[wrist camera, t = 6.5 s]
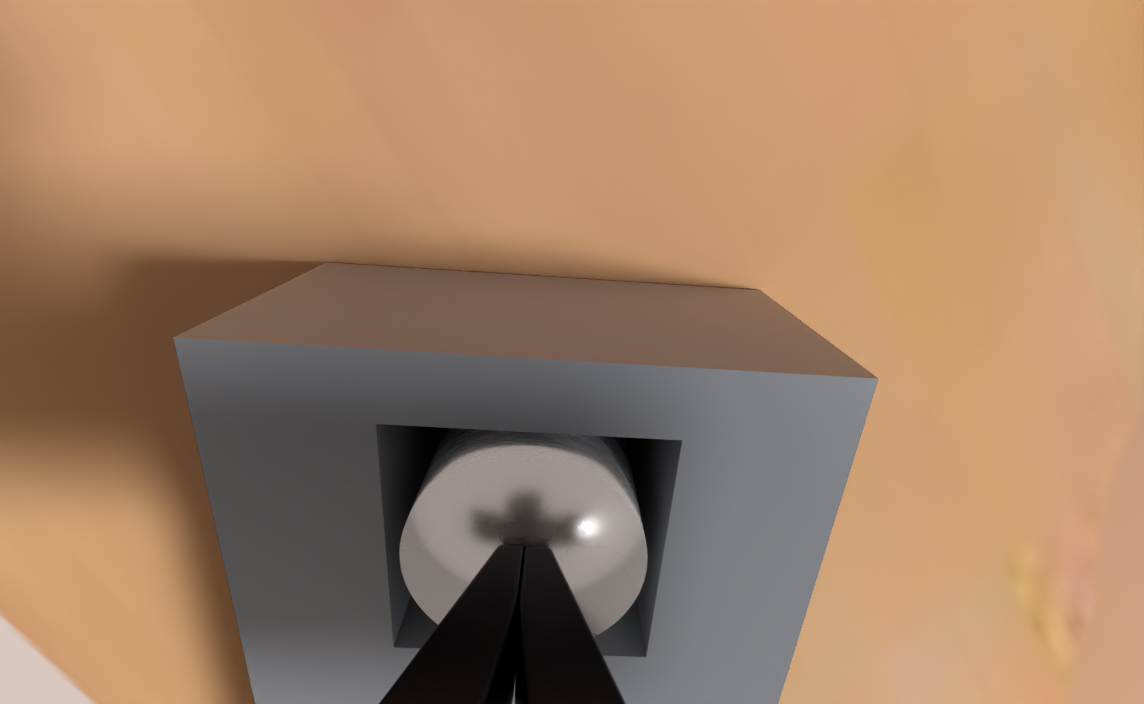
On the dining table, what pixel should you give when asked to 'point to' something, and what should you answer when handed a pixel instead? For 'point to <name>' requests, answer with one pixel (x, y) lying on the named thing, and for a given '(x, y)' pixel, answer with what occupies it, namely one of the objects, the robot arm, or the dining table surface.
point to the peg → (527, 517)
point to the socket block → (523, 404)
